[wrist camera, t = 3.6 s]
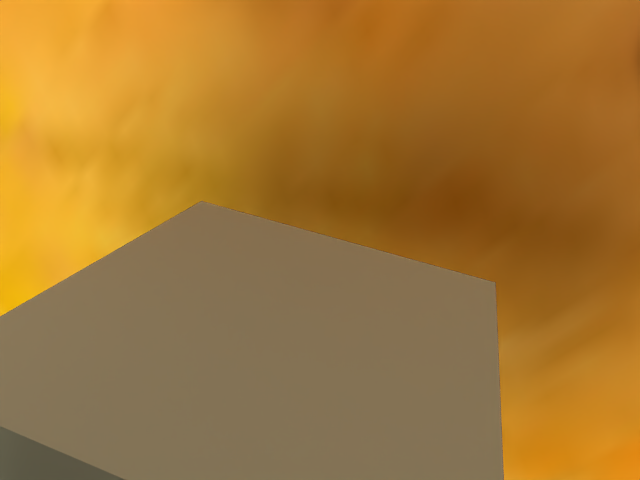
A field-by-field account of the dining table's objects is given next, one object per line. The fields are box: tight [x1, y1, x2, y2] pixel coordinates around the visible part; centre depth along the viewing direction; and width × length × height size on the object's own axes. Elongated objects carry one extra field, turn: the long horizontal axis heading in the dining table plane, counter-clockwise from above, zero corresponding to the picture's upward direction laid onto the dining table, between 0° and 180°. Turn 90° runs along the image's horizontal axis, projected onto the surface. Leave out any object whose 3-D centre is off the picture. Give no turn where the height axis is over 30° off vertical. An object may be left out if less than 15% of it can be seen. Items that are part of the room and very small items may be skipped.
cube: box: [0, 201, 504, 480], centre depth 7 cm, size 5×5×5 cm
